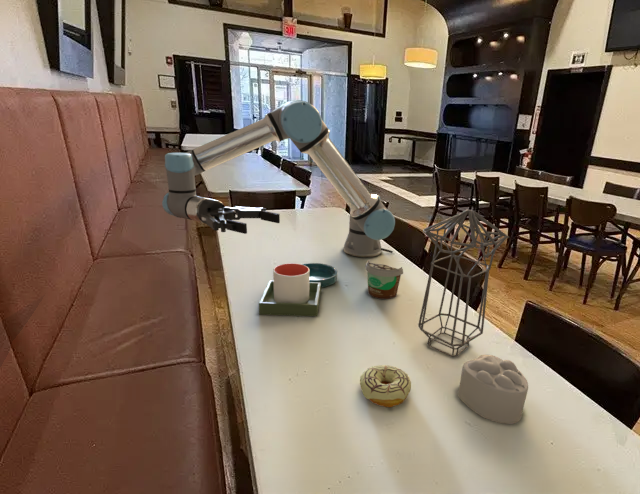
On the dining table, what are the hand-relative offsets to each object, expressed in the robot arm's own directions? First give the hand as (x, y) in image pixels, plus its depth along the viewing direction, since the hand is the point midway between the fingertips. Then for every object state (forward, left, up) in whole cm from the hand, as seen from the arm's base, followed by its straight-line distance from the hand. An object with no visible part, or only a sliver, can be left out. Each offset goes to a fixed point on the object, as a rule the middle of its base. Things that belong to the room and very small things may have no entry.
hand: (263, 223), depth 116 cm
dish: (-13, -13, -22) cm, 29 cm away
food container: (-34, -2, -22) cm, 41 cm away
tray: (-8, +5, -22) cm, 24 cm away
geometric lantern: (-50, +26, -22) cm, 61 cm away
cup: (-8, +5, -22) cm, 24 cm away
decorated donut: (-32, +45, -22) cm, 60 cm away
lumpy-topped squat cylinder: (-54, +48, -22) cm, 76 cm away
